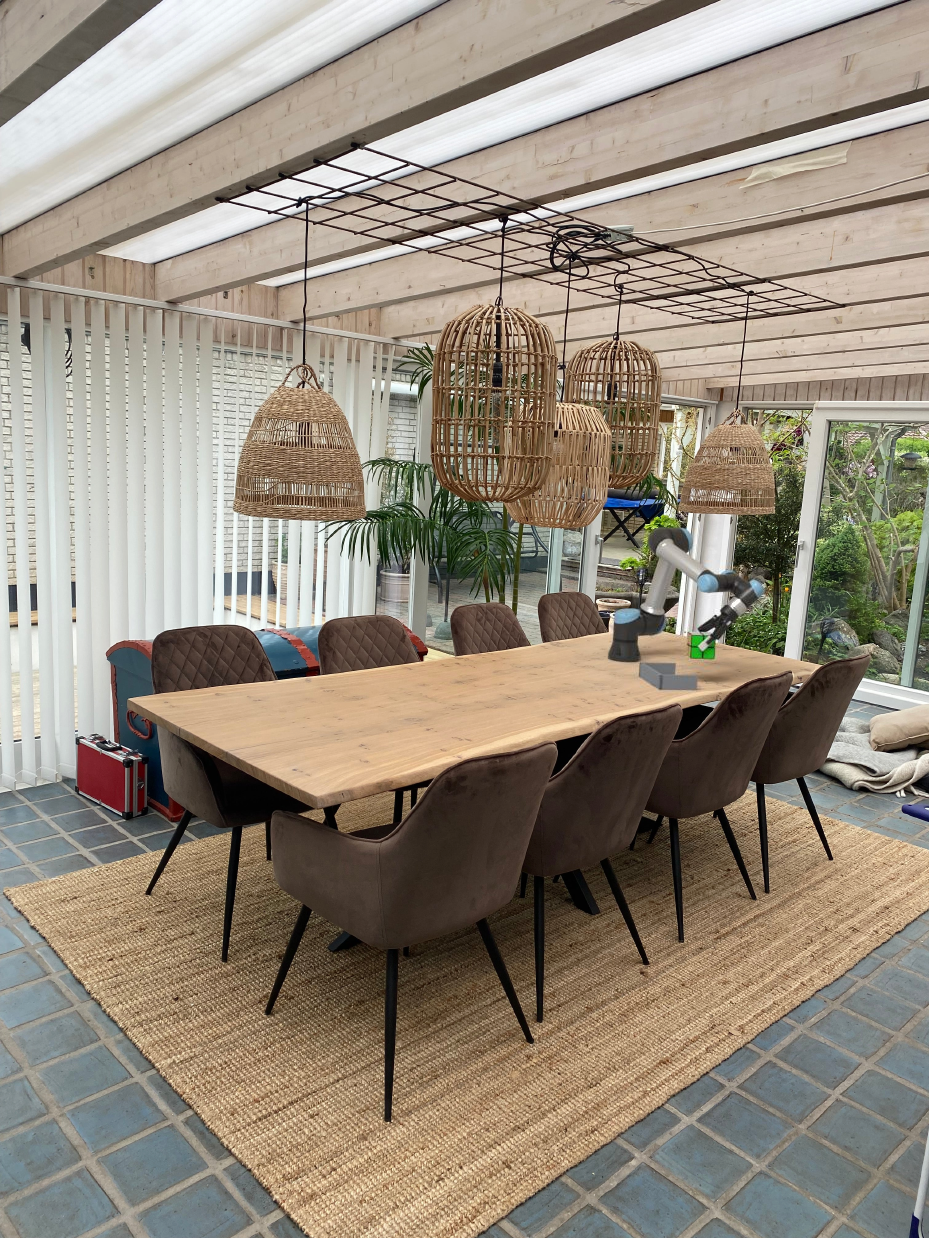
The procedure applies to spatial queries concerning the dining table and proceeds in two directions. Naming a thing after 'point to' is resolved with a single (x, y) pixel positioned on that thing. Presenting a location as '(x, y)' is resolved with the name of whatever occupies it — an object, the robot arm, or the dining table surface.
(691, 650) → the puzzle cube
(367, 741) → the dining table surface
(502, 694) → the dining table surface
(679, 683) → the grey u-shaped wall
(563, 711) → the dining table surface
